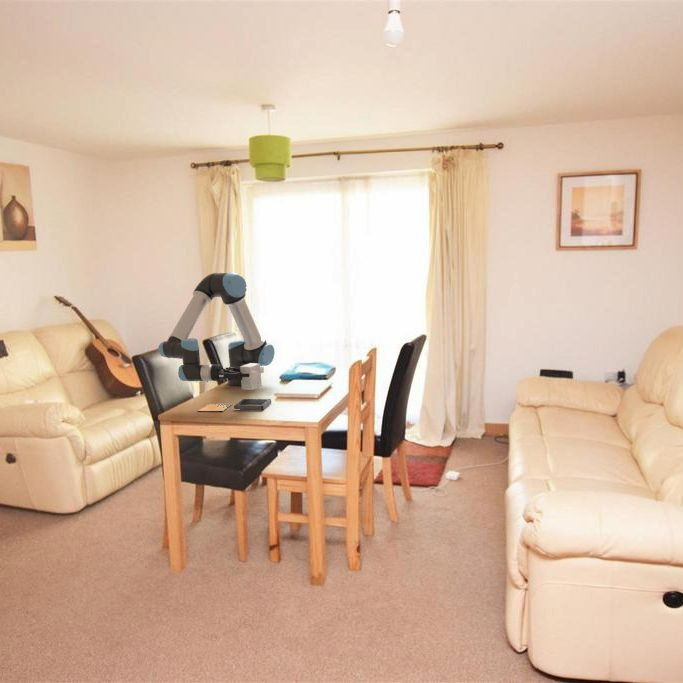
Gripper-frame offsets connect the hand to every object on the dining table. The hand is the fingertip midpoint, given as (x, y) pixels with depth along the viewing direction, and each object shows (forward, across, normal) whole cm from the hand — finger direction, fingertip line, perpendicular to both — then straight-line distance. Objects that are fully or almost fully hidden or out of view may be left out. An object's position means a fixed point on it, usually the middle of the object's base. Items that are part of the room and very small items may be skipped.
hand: (260, 372), depth 257 cm
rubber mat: (-22, +3, -16) cm, 27 cm away
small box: (-5, 0, -7) cm, 9 cm away
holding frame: (-5, 0, -16) cm, 17 cm away
